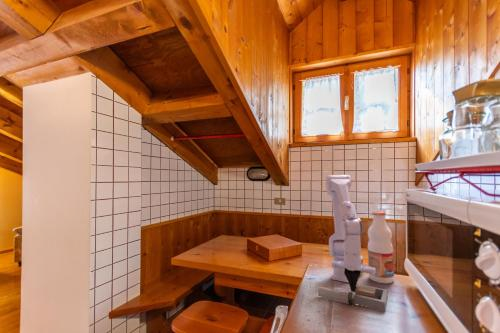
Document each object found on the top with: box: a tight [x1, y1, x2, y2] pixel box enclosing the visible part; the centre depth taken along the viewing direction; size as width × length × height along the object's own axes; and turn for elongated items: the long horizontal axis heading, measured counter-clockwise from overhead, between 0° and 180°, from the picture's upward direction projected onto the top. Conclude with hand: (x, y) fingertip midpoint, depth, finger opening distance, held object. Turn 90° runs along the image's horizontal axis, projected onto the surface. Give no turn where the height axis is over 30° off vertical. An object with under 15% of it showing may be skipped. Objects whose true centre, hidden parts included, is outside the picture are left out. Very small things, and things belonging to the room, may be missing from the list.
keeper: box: [317, 286, 354, 307], centre depth 87 cm, size 12×1×4 cm, turn 57°
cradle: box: [353, 283, 389, 313], centre depth 87 cm, size 10×9×3 cm
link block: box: [354, 283, 377, 299], centre depth 87 cm, size 5×6×4 cm
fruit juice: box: [367, 210, 395, 284], centre depth 105 cm, size 9×9×28 cm
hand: (353, 290), depth 90 cm, fingers closed
